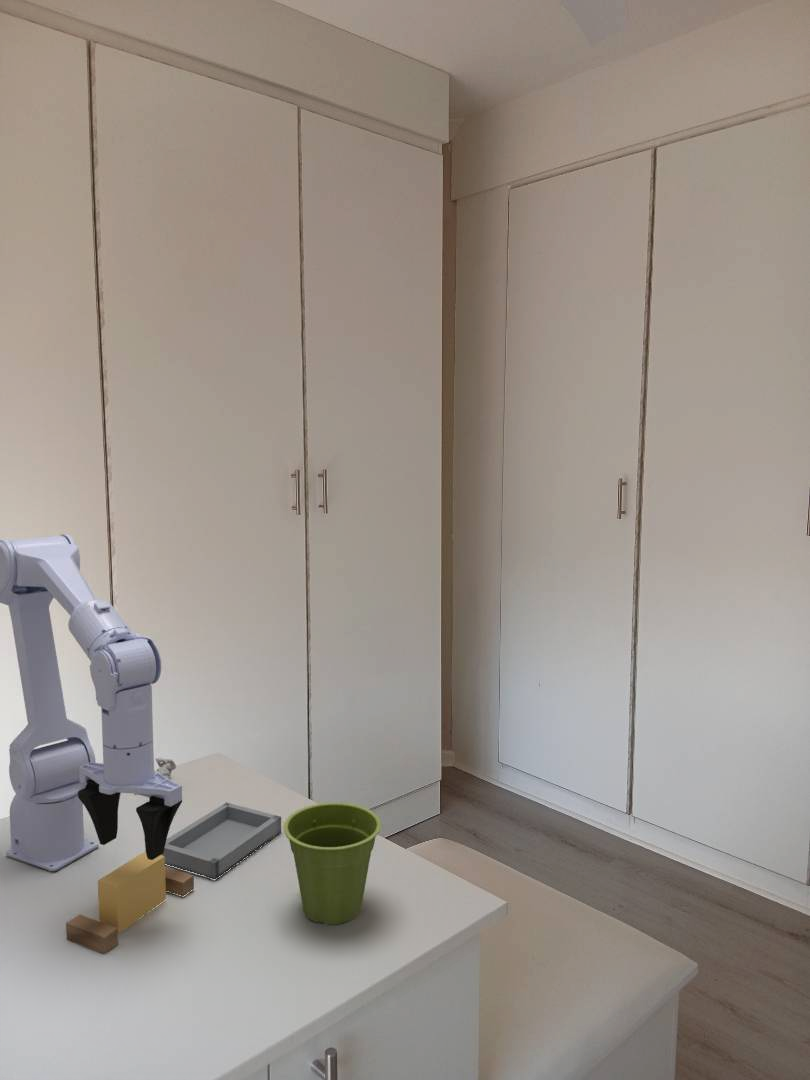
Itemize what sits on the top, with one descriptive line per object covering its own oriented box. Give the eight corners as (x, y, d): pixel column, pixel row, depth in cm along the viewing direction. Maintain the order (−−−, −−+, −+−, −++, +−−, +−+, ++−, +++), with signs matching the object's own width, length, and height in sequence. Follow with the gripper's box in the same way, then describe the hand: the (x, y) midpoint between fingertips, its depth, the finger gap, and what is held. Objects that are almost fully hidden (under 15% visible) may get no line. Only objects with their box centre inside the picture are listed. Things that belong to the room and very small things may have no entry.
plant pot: (263, 914, 104) (262, 827, 102) (329, 874, 113) (329, 794, 111) (335, 951, 97) (336, 858, 95) (399, 905, 106) (400, 820, 104)
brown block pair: (66, 939, 98) (66, 923, 98) (158, 878, 111) (157, 864, 111) (104, 953, 95) (104, 937, 95) (193, 890, 109) (193, 875, 108)
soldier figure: (133, 818, 131) (129, 766, 141) (156, 831, 133) (151, 779, 143) (169, 785, 130) (163, 735, 140) (192, 798, 133) (184, 749, 143)
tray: (156, 862, 115) (156, 845, 115) (226, 818, 129) (226, 802, 128) (215, 880, 111) (214, 863, 111) (281, 832, 124) (281, 816, 124)
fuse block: (99, 927, 101) (97, 880, 100) (147, 895, 108) (146, 850, 107) (118, 934, 99) (116, 886, 98) (165, 901, 106) (164, 856, 105)
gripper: (57, 740, 100) (61, 848, 102) (150, 763, 94) (153, 878, 96) (102, 722, 106) (106, 824, 108) (193, 742, 100) (195, 851, 102)
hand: (131, 848), depth 102 cm, fingers open, 7 cm apart
